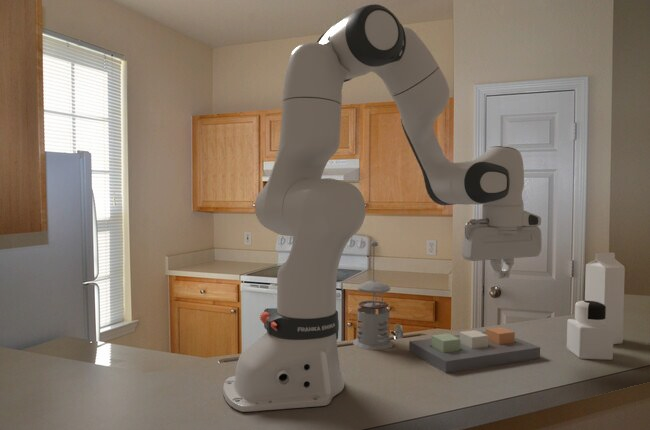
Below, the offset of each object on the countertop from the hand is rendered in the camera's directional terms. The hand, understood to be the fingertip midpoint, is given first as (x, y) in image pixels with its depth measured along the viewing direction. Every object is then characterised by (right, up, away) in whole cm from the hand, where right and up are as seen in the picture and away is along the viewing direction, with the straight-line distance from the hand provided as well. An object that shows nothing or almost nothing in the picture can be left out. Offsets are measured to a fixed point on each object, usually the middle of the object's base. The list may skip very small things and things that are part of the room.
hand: (501, 277), depth 109 cm
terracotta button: (0, -15, +1) cm, 15 cm away
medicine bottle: (+19, -17, -1) cm, 26 cm away
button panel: (-7, -17, -2) cm, 19 cm away
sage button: (-14, -15, -5) cm, 21 cm away
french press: (-29, -17, +7) cm, 34 cm away
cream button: (-7, -15, -2) cm, 17 cm away
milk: (+28, -17, +9) cm, 34 cm away
